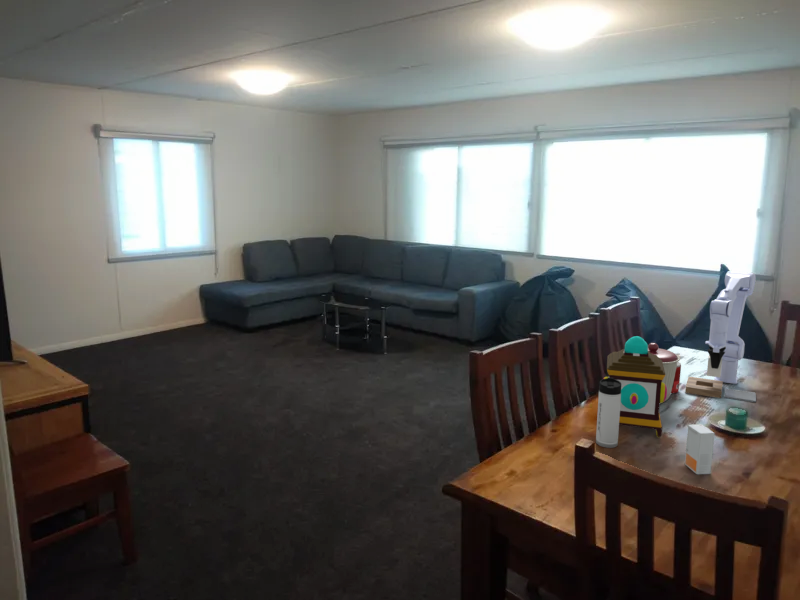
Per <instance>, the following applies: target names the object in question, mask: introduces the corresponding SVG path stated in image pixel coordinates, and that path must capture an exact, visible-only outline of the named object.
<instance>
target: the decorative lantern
mask: <svg viewBox="0 0 800 600" xmlns="http://www.w3.org/2000/svg"><path fill="white" fill-rule="evenodd" d="M648 345H649V344H648V343H647V341H645V339H644V338H643V337H641V336H640V335H639V336H638V335H636V336H632V337H630V338H628V340H627V341H625V344H624V348H623V349H621V350H618V351H612V352H610V353H609V354H608V355H607V361H606V371H607V374H608V376H605V377H603V378H602V379H608V378H613V379H615V380H618V381H620V382H621V402H620V417H619V426H626V427H635V428H643V429H649V430H650V429H651V430H655V433H656V434H655V435H656V437H657V438H661V437H662V434H663V424H662V420H661V415H660V414H661V413H660V405H661V404H663V403H664V401H665V399H666V396H667V388H666V385H665V384H664V383H663V382H662V380H663V379H664V377H665V375H666V374H665V370H664V366H663V362H662V360H661V359H660V358H659V357H658V356H657V355H652V354H651V353H650V352H649V351H648ZM665 402H666V401H665Z"/></svg>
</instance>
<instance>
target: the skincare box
mask: <svg viewBox="0 0 800 600" xmlns="http://www.w3.org/2000/svg"><path fill="white" fill-rule="evenodd" d="M686 434H687V435H686V444H685V445H686V446H685V453H684V454H685V456H684V465H685V466H686V467H687V468H689V469H690V470H691V471H692V472H693V473H695V474H696V475H710V474H711V473H712V463H713V452H714V444H715V432H713V430H711V429H710V428H709V427H706V426H705V425H703V424H702V423H701V424H688V425H687V433H686Z"/></svg>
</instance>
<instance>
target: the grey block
mask: <svg viewBox="0 0 800 600" xmlns="http://www.w3.org/2000/svg"><path fill="white" fill-rule="evenodd" d="M722 358H723V357H722ZM722 358H721V361H720V364H719V367H718V369H715V368H712V367H711V359H710V355H709V354H708V359H707V369H706V376H708V377H713V378H715V377H720V376H721V367H722Z"/></svg>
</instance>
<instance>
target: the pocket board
mask: <svg viewBox="0 0 800 600" xmlns="http://www.w3.org/2000/svg"><path fill="white" fill-rule="evenodd" d="M723 383H724V382H723V381H718V380H714V379H710V378H709V379H708V378H703V377H702V378H701V377H696V376H695V377H694V376H688V377H687V381H686V384H685V389H684V390H685V392H684V393H685V394H692V395H698V396H704V397H705V396H706V397H711V398H712V397H713V398H717V399H722V395H723V393H722V392H723V385H724V384H723Z"/></svg>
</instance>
